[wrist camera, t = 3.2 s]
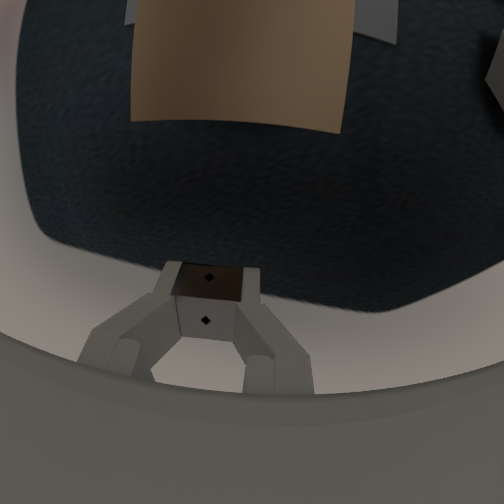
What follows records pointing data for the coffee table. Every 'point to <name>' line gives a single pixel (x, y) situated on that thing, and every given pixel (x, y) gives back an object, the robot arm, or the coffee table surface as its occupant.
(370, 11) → the mat
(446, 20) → the coffee table surface
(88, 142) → the coffee table surface
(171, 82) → the walnut block
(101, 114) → the coffee table surface
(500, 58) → the die
